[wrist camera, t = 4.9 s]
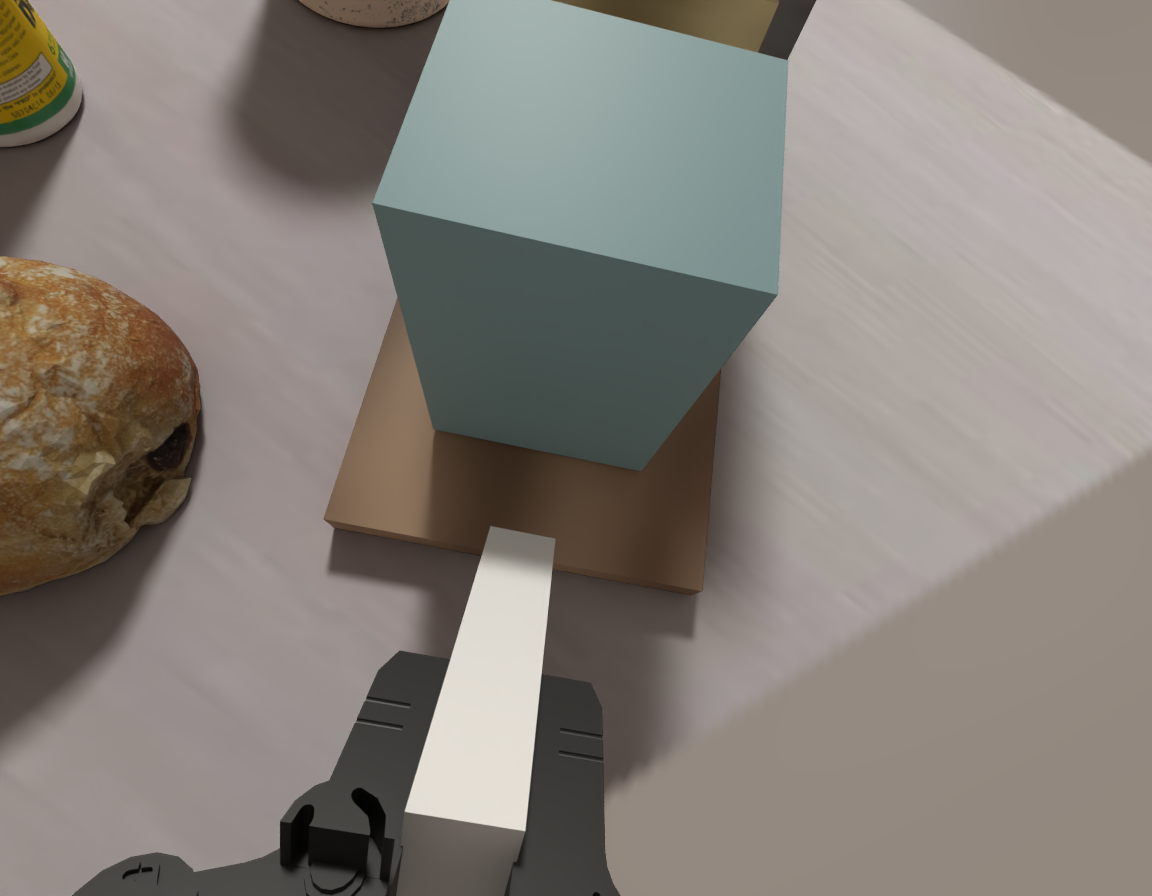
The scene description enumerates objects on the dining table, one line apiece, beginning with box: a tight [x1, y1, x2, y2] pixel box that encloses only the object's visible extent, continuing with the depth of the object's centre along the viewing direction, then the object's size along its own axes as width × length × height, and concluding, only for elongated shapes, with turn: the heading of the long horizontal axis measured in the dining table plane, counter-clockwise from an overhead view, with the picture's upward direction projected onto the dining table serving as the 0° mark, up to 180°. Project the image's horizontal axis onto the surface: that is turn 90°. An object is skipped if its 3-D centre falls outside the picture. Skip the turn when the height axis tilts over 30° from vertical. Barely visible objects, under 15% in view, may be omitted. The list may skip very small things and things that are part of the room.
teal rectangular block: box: [372, 0, 788, 471], centre depth 15 cm, size 7×6×10 cm
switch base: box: [324, 0, 816, 595], centre depth 16 cm, size 12×22×14 cm, turn 171°
